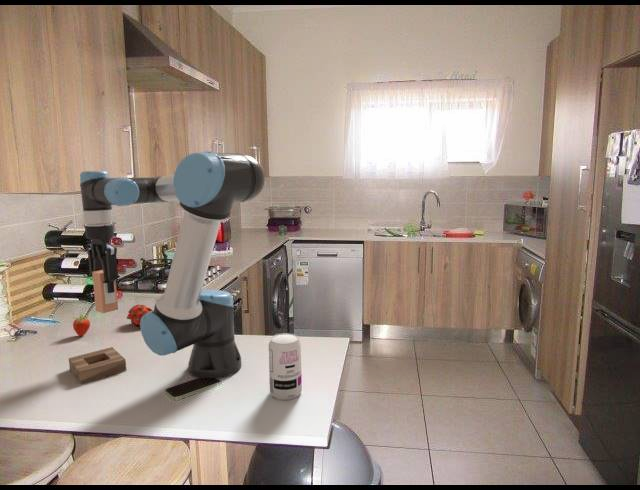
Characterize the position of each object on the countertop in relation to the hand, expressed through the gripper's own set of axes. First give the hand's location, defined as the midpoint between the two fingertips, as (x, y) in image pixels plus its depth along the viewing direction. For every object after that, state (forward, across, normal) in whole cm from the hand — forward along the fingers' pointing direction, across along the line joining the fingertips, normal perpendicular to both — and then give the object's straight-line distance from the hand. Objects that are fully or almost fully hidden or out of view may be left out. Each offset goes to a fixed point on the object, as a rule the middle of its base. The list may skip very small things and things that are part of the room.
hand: (106, 301), depth 131 cm
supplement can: (+19, -57, -16) cm, 62 cm away
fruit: (+19, +28, -4) cm, 34 cm away
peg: (+3, 0, 0) cm, 3 cm away
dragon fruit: (+19, +21, -23) cm, 36 cm away
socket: (+19, -4, +6) cm, 20 cm away
